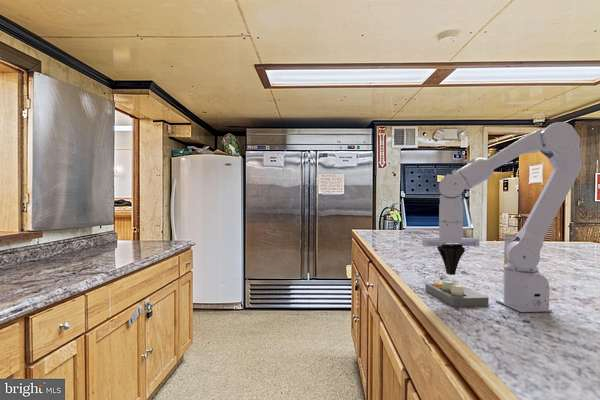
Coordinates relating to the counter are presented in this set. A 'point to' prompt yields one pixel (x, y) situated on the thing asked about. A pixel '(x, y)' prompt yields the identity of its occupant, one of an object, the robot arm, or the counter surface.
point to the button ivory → (457, 290)
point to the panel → (458, 297)
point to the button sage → (447, 286)
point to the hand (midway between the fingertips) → (450, 274)
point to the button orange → (438, 284)
